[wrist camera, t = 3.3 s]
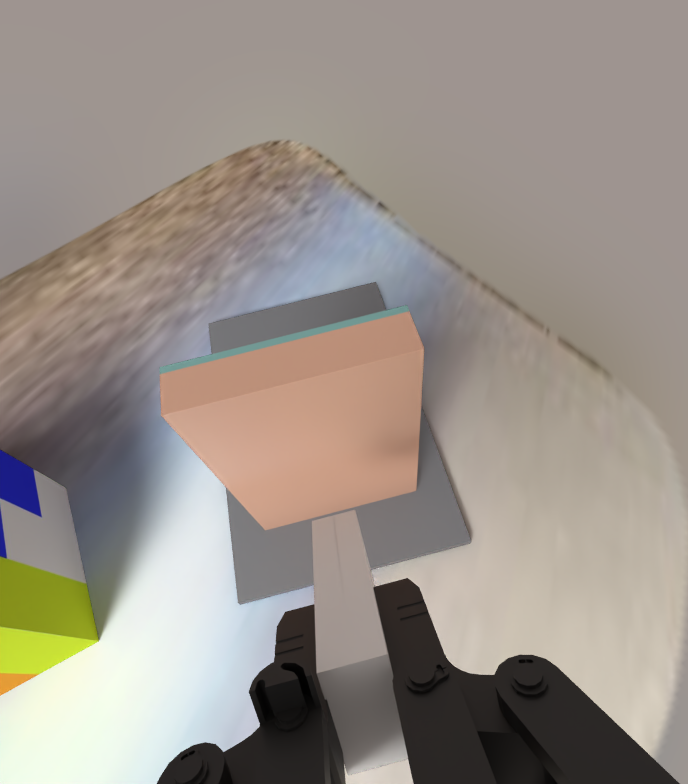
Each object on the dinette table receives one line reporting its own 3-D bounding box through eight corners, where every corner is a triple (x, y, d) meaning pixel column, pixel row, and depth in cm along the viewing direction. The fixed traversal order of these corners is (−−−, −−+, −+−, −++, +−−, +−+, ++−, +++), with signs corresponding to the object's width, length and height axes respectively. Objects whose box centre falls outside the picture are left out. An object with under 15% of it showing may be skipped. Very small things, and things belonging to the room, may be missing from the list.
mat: (470, 543, 27) (471, 540, 26) (240, 604, 27) (238, 603, 26) (376, 286, 37) (375, 282, 37) (210, 327, 37) (208, 323, 37)
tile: (416, 490, 28) (424, 348, 16) (265, 530, 28) (161, 415, 16) (406, 459, 29) (406, 305, 17) (260, 497, 29) (159, 367, 17)
